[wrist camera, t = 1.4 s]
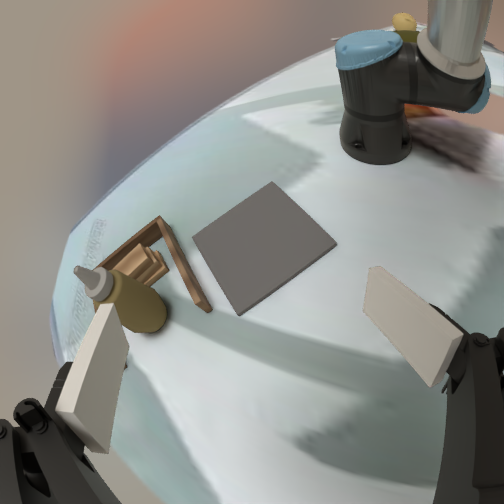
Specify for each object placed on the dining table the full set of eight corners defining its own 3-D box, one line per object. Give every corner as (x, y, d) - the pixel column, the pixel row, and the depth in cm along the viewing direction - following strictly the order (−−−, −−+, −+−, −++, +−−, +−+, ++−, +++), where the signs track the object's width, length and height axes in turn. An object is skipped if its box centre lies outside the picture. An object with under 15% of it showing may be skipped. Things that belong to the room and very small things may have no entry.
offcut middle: (162, 266, 48) (156, 261, 46) (121, 304, 47) (114, 301, 45) (153, 251, 51) (147, 246, 49) (114, 288, 49) (108, 284, 48)
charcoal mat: (336, 245, 41) (336, 242, 40) (239, 316, 40) (237, 314, 39) (273, 184, 51) (272, 181, 50) (193, 239, 50) (191, 237, 50)
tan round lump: (418, 36, 74) (416, 16, 66) (393, 33, 80) (390, 13, 71) (417, 31, 78) (415, 12, 69) (393, 28, 84) (391, 9, 75)
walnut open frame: (212, 309, 42) (200, 300, 39) (123, 369, 41) (107, 365, 38) (170, 226, 54) (159, 215, 51) (101, 281, 54) (88, 273, 50)
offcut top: (154, 263, 46) (147, 257, 45) (115, 298, 45) (108, 294, 44) (146, 248, 49) (139, 243, 47) (110, 283, 48) (103, 278, 46)
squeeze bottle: (172, 289, 46) (100, 233, 32) (174, 334, 42) (92, 289, 27) (136, 301, 48) (64, 253, 33) (136, 342, 43) (55, 304, 29)
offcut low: (171, 272, 49) (165, 267, 48) (125, 309, 48) (118, 306, 47) (162, 255, 52) (156, 250, 51) (119, 291, 51) (113, 287, 50)
